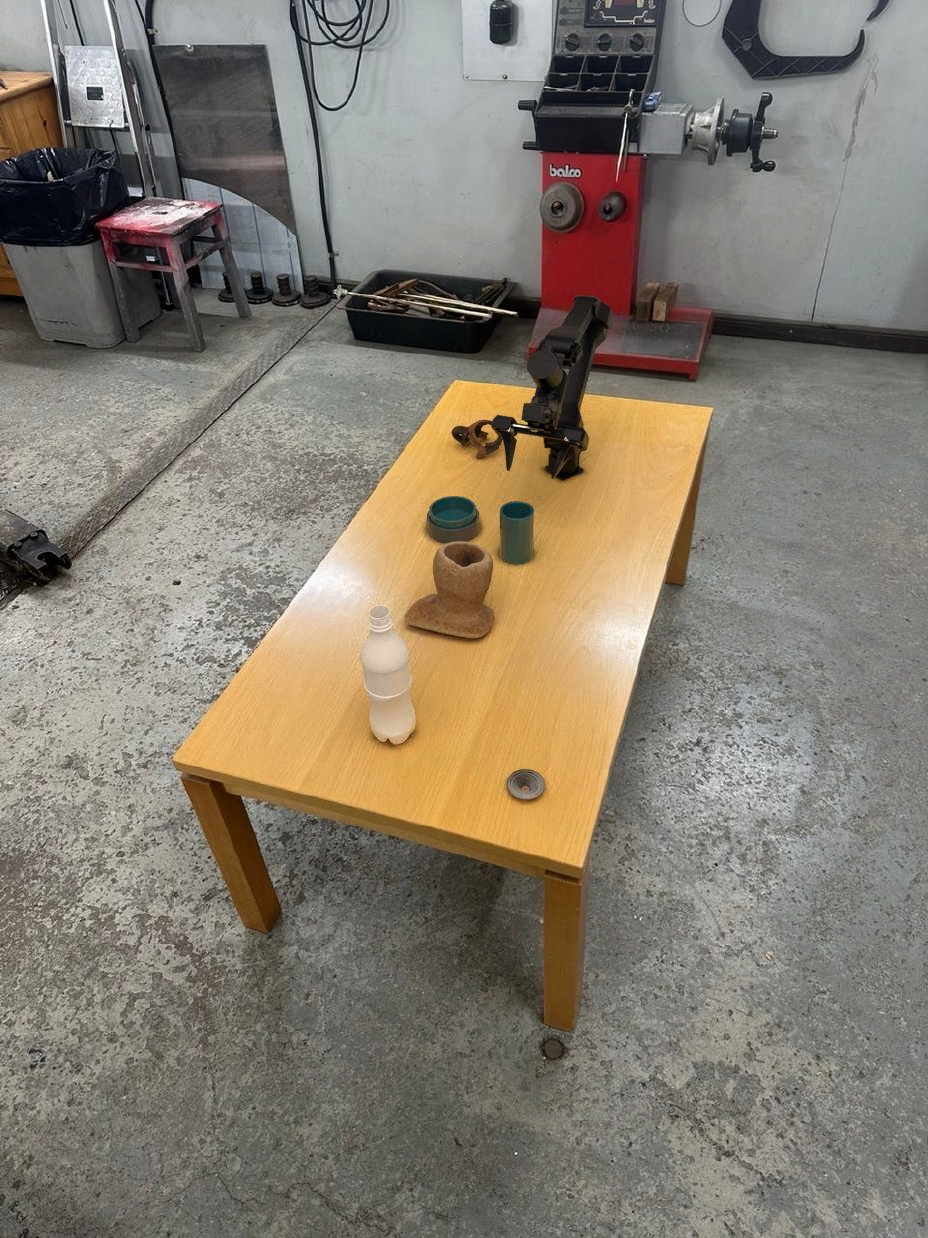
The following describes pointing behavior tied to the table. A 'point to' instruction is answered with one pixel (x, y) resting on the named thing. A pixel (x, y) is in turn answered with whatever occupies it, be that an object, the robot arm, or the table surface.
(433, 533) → the stack base cup
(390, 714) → the water bottle
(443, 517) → the stack top cup
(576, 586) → the table surface
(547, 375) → the robot arm
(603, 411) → the table surface
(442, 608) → the stone cup
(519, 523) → the teal cup
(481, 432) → the brown ring piece
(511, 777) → the dark grey round dish
